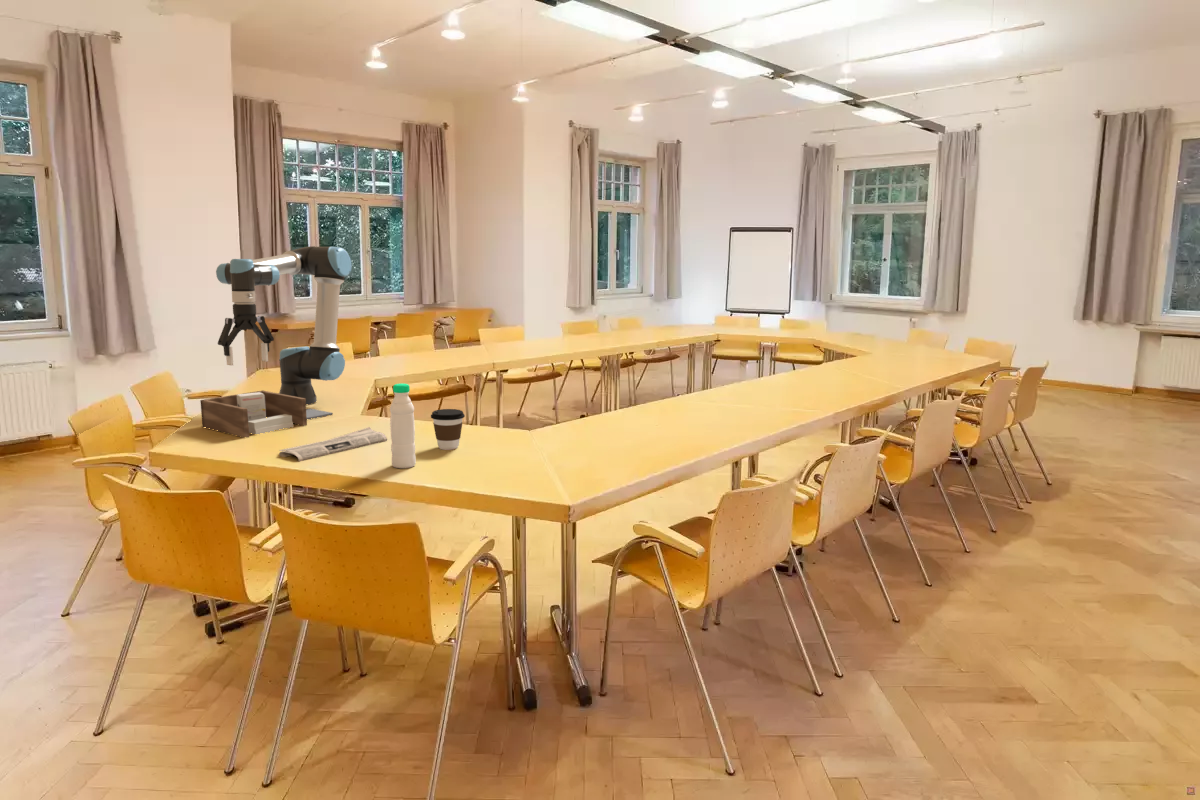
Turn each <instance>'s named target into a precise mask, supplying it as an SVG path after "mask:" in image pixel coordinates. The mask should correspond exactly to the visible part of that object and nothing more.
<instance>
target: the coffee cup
mask: <svg viewBox="0 0 1200 800" xmlns="http://www.w3.org/2000/svg"><path fill="white" fill-rule="evenodd" d="M463 418H465V413H464V412H463V410H461V409H455V408H454V409H453V408H441V409H436V410H433V411H432V412H431V414H430V419H432V420H433V422H432V423H433V428H434V434H435V438H436V441H437V447H438V449H439V450H444V451H445V450H446V451H449V450H452V451H453V450H455V449H458V448H459V446H460V440H461V434H462V429H463Z"/></svg>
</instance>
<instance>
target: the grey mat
mask: <svg viewBox="0 0 1200 800" xmlns="http://www.w3.org/2000/svg"><path fill="white" fill-rule="evenodd" d="M332 414H334V413H333V412H330V411H325V410H319V409H314V408H309V407H308V408H306V416H307V419H310V420H312V419H311V418H315V419H318V418H317V417H320V418H323V417H322V416H325V417H328V416H327V415H330V416H333V415H332Z"/></svg>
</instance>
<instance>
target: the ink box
mask: <svg viewBox="0 0 1200 800" xmlns="http://www.w3.org/2000/svg"><path fill="white" fill-rule="evenodd" d="M246 393H247V394H243V393H238V394H236V395H237V406H238V407H243V408H247V411H248V421H252V420H257V419H263V418H266V408H265V395H264V394H263V393H261V392H257V393H250V392H246Z"/></svg>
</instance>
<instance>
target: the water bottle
mask: <svg viewBox="0 0 1200 800" xmlns="http://www.w3.org/2000/svg"><path fill="white" fill-rule="evenodd" d="M392 390H393V391H392V392H393V394H394V398H393V399H392V402H391V404H390V406H389V412H390V423H389V425H390V440H391V445H390V446H391V447H390V448H391V449H390V450H391V451H390V452H391V467H394V468H396V469H409V468H413V467H415V465H416V464H417V463H416V462H417V460H416V443H415V438H416V437H415V435H416V431H415V424H416V423H415V416H414V415H415V414H414V412H415V406H414V405H413V403H412V400H411V397H409V393H410V385H409V384H408V383H402V382H401V383H396V384H394V385H393V387H392Z"/></svg>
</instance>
